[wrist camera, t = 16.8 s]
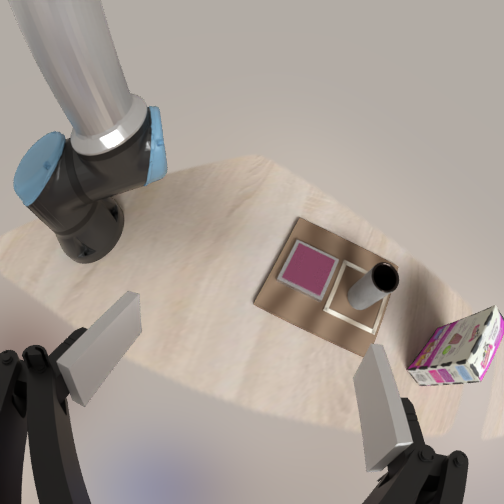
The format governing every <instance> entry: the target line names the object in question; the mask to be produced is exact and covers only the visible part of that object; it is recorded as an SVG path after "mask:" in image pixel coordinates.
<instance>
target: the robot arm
mask: <svg viewBox="0 0 504 504" xmlns="http://www.w3.org/2000/svg"><path fill="white" fill-rule="evenodd" d="M8 1H9V4H10V6H11V9H12V11H13V14H14V16H15V18H16V21H17V23H18V25H19V28H20V30H21V32H22V34H23V36H24V39H25V41H26V43H27V45H28V47H29V49H30V51H31V53H32V55H33V57H34V59H35V61H36V63H37V65H38V67H39V69H40V71H41V72H42V74H43V76H44V78H45V80H46V82H47V84H48V85H49V87H50V89H51V91H52V92H53V94H54V96H55V98H56V99H57V101H58V103H59V104H60V106H61V108H62V110H63V111H64V113H65V115H66V116H67V118H68V120H69V121H70V122H71V124H72V126H73V130H72V133H71V138H69V139H65V136H64V135H63V134H61V133H60V132H56V131H55V132H51V133H48V134H46V135H45V136H43V137H42V138H41V139H39V140H38V141H37V142H36V143H35V144H34V145H33V146H32V147H31V148H30V149H29V150H28V151H27V153H26V154H25V156H24V157H23V158H22V160H21V162H20V164H19V166H18V168H17V170H16V173H15V176H14V190H15V192H16V194H17V195H18V196H19V198H20V199H21V200H22V201H23V204H24V205H25V206H27V207H28V208H29V209H30V210H31V211H32V212H33V213H34V214H35V215H36V216H37V217H38V218H39V219H40V220H41V221H42V222H44V223H45V224H46V225H47V226H48V227H49V228H50V229H51V230H52V231H53V232H55V234H56V237H57V239H58V241H59V243H60V245H61V247H62V249H63V251H64V252H65V253H66V255H67V256H69V257H70V258H71V259H72V260H74V261H76V262H78V263H92V262H95V261H97V260H99V259H101V258H102V257H104V256H105V255H106V254H108V253H109V252H110V251H111V250H112V248H113V247H114V246H115V245H116V243H117V241H118V240H119V238H120V235H121V233H122V229H123V224H124V218H123V213H122V210H121V208H120V207H119V205H118V204H117V202H116V201H115V200H114V199H113V198H112V197H111V196H114V195H117V194H120V193H123V192H126V191H129V190H132V189H136V188H139V187H142V186H147V185H148V184H149V183H152V182H155V181H157V180H160V179H162V178H163V177H164V176H165V175H166V173H167V161H166V153H165V147H164V140H163V131H162V124H161V117H160V111H159V108H158V107H156V106H154V107H152V106H149V107H147V106H146V103H145V101H144V100H143V98H141V97H140V96H138V95H135V94H130V92H129V89H128V86H127V83H126V80H125V77H124V75H123V72H122V69H121V65H120V63H119V59H118V56H117V53H116V50H115V47H114V44H113V40H112V37H111V34H110V31H109V28H108V24H107V20H106V17H105V14H104V10H103V6H102V3H101V0H8ZM141 332H142V327H141V313H140V294H138V293H134V292H131V291H127V292H126V293H125V294H124V295H123V296H122V297H121V298H120V299H119V300H118V301H117V302H116V303H115V304H114V305H112V306H111V307H110V308H109V309H108V310H107V311H106V312H105V313H104V314H103V315H102V316H101V317H100V318H99V319H98V320H97V321H96V322H95V323H94V324H93V325H92V326H91V327H90V328H89V329H86V328H84V327H82V328H80V329H77V330H75V331H74V332H73V333H72V334H71V335H70V336H69V337H68V338H67V339H66V340H65V341H64V342H63V343H61V344H60V345H59V346H58V347H57V348H56V349H55V350H54V351H53V352H52V353H51V354H50V355H49V356H48V354H47V352H46V350H45V348H44V347H42V346H40V345H33V346H29V347H28V348H26V349H25V350H24V351H23V354H22V357H23V359H24V361H23V360H20V359H19V357H18V355H17V353H16V352H15V351H13V350H6V351H3V352H2V353H0V504H21V491H22V472H23V461H24V452H25V445H26V438H27V432H28V437H29V447H30V456H31V464H32V470H33V476H34V481H35V486H36V490H37V495H38V499H39V503H40V504H91V502H90V499H89V496H88V493H87V490H86V487H85V483H84V480H83V476H82V473H81V469H80V465H79V461H78V457H77V453H76V449H75V444H74V439H73V434H72V428H71V423H70V416H69V409H68V402H67V399H66V397H67V396H68V394H69V393H70V395H71V398H72V400H73V401H75V402H76V403H78V404H80V405H82V406H84V407H85V406H86V405H87V404H88V402H89V401H90V400H91V398H92V397H93V395H94V394H95V393H96V391H97V390H98V388H99V387H100V386H101V384H102V383H103V382H104V381H105V379H106V378H107V376H108V375H109V374H110V373H111V371H112V370H113V368H114V367H115V366H116V365H117V363H118V362H119V361H120V359H121V358H122V357H123V355H124V354H125V353H126V352H127V350H128V349H129V348H130V346H131V345H132V344H133V342H134V341H135V340H136V339H137V337H138V336H139V335H140V333H141ZM353 380H354V386H355V391H356V397H357V403H358V409H359V416H360V423H361V430H362V437H363V445H364V453H365V461H366V471H367V472H378V471H382V470H383V469H384V468H385V467H386V466H388V472H387V473H386V474H385V475H383V476H382V477H381V478H380V479H378V482H379V481H380V480H381V481H380V482H379V484H378V485H377V486H376V487H375V489H374V490H373V491H372V492H371V494H370V495H369V496H368V497H367V499H366V500H365V501H364V502H363V503H362V504H462V502H463V497H464V492H465V486H466V479H467V472H468V458H467V456H466V454H464V453H463V452H462V451H457V450H456V451H454V452H452V453H451V454H450V455H449V456H444V455H439V454H436V453H435V451H434V450H433V448H431V447H430V446H428V445H425V442H424V439H423V435H422V432H421V429H420V425H419V422H418V421H417V420H418V419H417V415H415V414H416V412H415V409H414V406H413V404H412V403H411V402H410V400H409V399H408V398H400V394H399V391H398V388H397V385H396V382H395V379H394V376H393V373H392V370H391V367H390V364H389V361H388V358H387V356H386V353H385V350H384V347H383V345H378V344H370V346H369V348H368V350H367V352H366V354H365V356H364V358H363V360H362V362H361V364H360V366H359V368H358V370H357V371H356V373H355V375H354V377H353Z"/></svg>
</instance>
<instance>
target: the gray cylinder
mask: <svg viewBox="0 0 504 504" xmlns="http://www.w3.org/2000/svg"><path fill="white" fill-rule="evenodd" d="M398 284H399V276H398V273H397V271H396V269H395V268H394V267H393V266H392V265H391V264H389V263H387V262H380V263H377V264H376V265H375V266H374V267H373V268H371V269H370V270H369V271H368V272H367V273H366V274H365V275H364V276H363V277H362V278H361V279H360V280H359V281H358V282H356V283H355V284H354V285H353V286H352V287H351V288H350V290H349V291H348V301H349V303H350V305H351V306H352V307H353V308H355V309H357V310H363V309H366V308H368V307H369V306H371V305H373V304H374V303H376V302H377V301H379V300H381V299H382V298H384V297H385V296H387V295H388V294H390V293H391V292H393V291H394V290H395V289H396V288H397V286H398Z"/></svg>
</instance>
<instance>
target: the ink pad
mask: <svg viewBox="0 0 504 504" xmlns="http://www.w3.org/2000/svg"><path fill="white" fill-rule="evenodd" d="M338 261H339V259H337V258H335V257H333V256H331V255H329V254H327V253H325V252H323V251H320V250H318V249H316V248H314V247H312V246H310V245H308V244H306V243H304V242H302V241H300V240H297V241H296V243H295V245H294V247H293V249H292V251H291V252H290V254H289V256H288V258H287V260H286V262H285V264H284V266H283V268H282V270H281V272H280V274H279V276H278V278H277V280H276V281H277V282H279V283H281V284H283V285H285V286H287V287H289V288H291V289H293V290H295V291H297V292H299V293H301V294H303V295H305V296H307V297H310V298H312V299H314V300H316V301H318V302H321V301H322V299H323V296H324V294H325V292H326V290H327V287H328V285H329V283H330V280H331V278H332V276H333V273H334V271H335V268H336V266H337V263H338Z"/></svg>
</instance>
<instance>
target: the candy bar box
mask: <svg viewBox="0 0 504 504" xmlns="http://www.w3.org/2000/svg"><path fill="white" fill-rule="evenodd" d="M503 335H504V318H503V316H502V315H501V313H500V312H499V310H498V308H497V307H496V305H494V306H492V307H490V308H487V309H485V310H483V311H480V312H478V313H475V314H473V315H471V316H468V317H465V318H463V319H460V320H458V321H455V322H453V323H450V324H447V325H444V326H442V327H439V328H437V330H436V331H435V333H434V334H433V336H432V337H431V339H430V340H429V341H428V343H427V344H426V346H425V347H424V348H423V350H422V351H421V352H420V354H419V355H418V356H417V358H416V359H415V360H414V361H413V363H412V364H411V365H410V367H409V368H408V369H407V371H408V372H409V373H410V374H411V376H412V377H413V378H414V379H415V381H416V382H417V383H418V384H419V386H431V385H449V384H463V383H473V382H481V381H482V379H483V377H484V375H485V374H486V372H487V370H488V368H489V366H490V364H491V362H492V360H493V358H494V356H495V353H496V351H497V349H498V347H499V345H500V342H501V340H502V338H503Z"/></svg>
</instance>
